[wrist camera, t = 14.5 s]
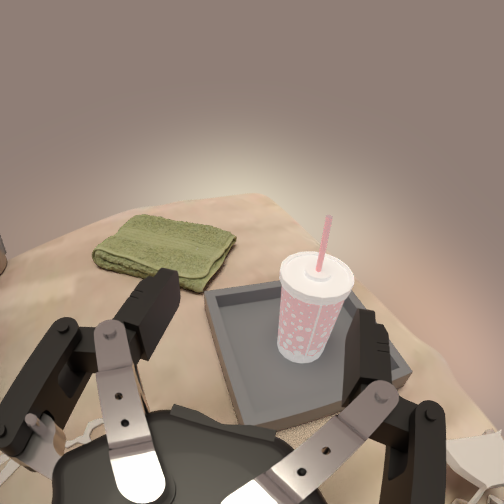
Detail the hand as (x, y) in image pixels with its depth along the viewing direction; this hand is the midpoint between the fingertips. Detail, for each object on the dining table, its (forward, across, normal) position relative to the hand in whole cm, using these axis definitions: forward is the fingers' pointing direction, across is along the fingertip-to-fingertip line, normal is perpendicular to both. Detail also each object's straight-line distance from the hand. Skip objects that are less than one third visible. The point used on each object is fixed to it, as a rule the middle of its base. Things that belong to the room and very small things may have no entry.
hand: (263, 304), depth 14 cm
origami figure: (-2, -19, +15) cm, 24 cm away
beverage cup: (+10, -3, +15) cm, 19 cm away
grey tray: (+11, -3, +16) cm, 19 cm away
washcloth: (+22, +17, +17) cm, 33 cm away
